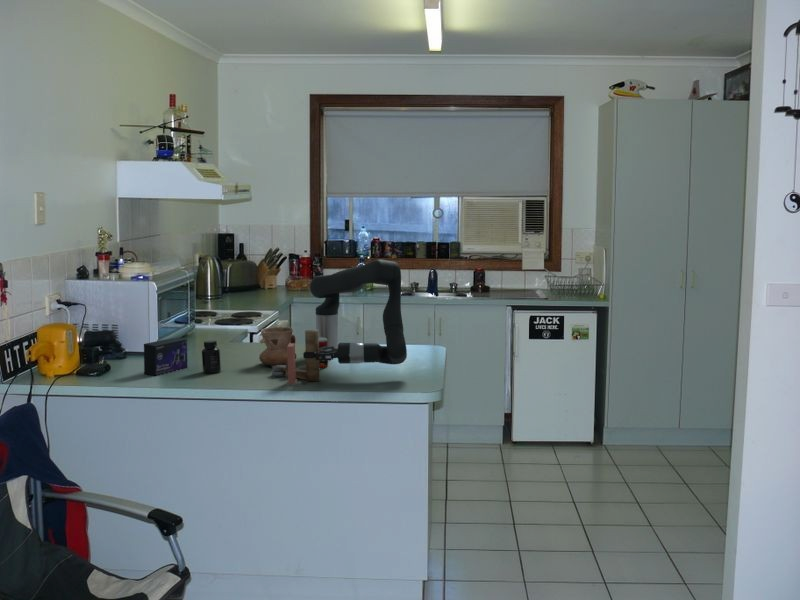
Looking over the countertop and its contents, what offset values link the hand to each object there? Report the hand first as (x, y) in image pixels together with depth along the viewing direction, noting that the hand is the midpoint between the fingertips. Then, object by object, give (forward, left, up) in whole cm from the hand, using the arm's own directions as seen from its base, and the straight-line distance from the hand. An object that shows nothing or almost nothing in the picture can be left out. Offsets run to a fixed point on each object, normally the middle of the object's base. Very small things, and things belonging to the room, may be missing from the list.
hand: (304, 353), depth 322 cm
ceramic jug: (-30, -13, -10) cm, 34 cm away
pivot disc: (-9, -10, -10) cm, 17 cm away
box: (-20, -55, -10) cm, 60 cm away
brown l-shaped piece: (-5, -4, -10) cm, 11 cm away
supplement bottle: (-17, -37, -10) cm, 42 cm away
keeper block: (+4, -4, -10) cm, 12 cm away
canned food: (-24, +3, -10) cm, 26 cm away
